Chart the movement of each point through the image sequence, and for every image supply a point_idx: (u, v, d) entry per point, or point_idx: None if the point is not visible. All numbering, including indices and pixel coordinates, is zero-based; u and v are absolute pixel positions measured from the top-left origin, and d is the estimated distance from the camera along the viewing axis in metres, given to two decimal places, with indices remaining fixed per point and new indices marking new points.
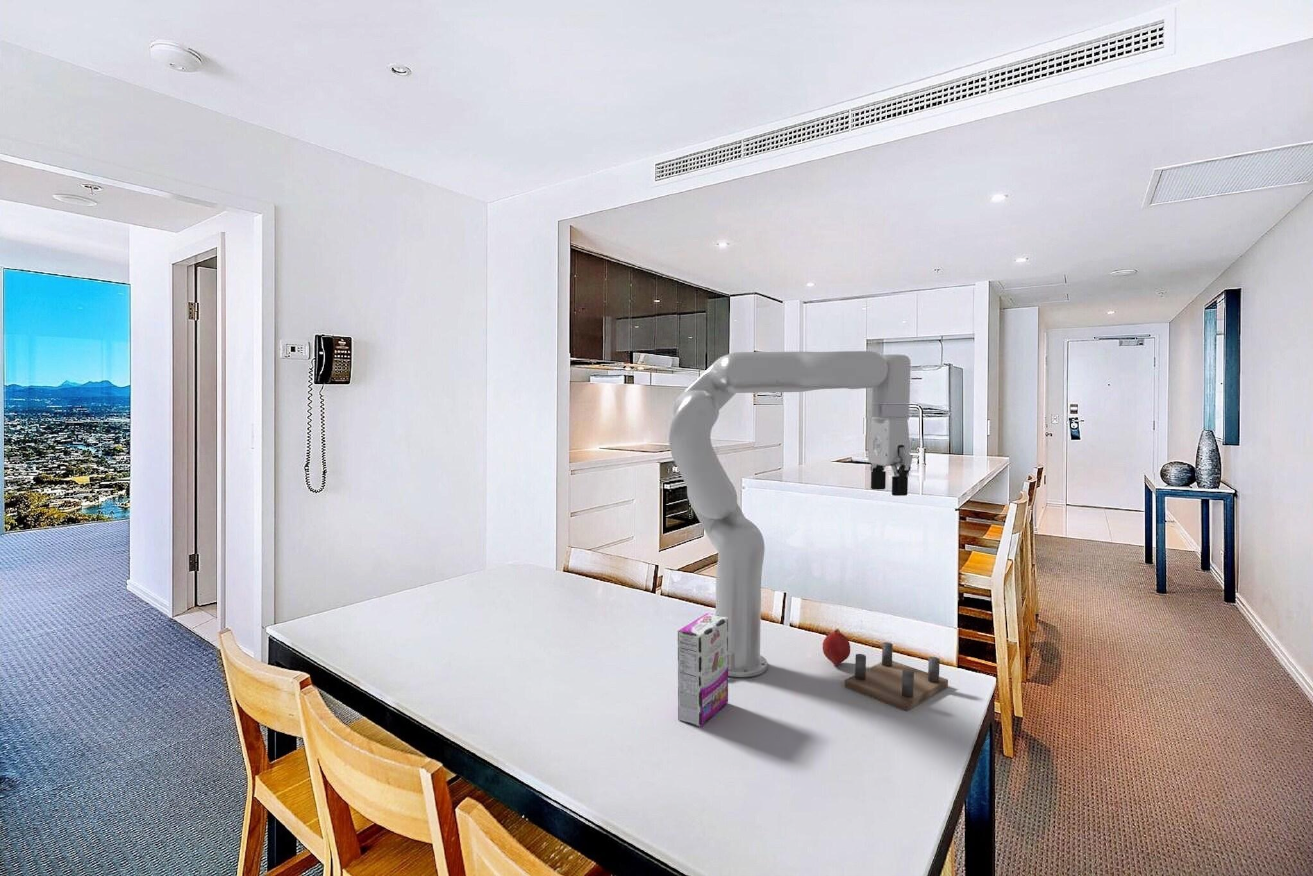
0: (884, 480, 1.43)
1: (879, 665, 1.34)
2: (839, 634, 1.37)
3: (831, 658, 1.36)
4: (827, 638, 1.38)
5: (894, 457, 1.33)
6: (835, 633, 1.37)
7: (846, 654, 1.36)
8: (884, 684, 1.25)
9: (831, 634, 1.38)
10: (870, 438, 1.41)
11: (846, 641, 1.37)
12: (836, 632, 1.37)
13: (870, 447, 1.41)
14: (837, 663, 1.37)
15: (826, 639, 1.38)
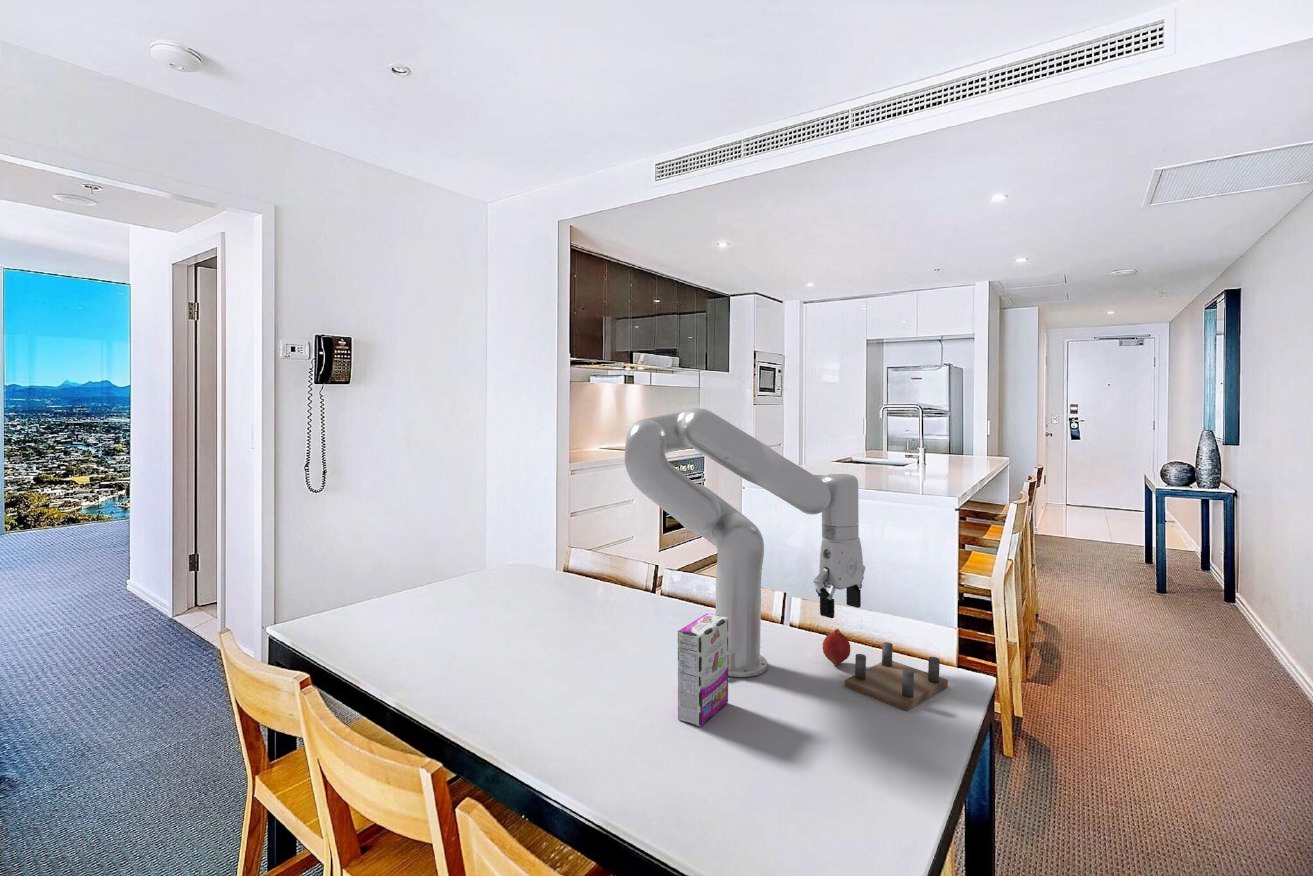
0: None
1: (879, 665, 1.34)
2: (839, 634, 1.37)
3: (831, 658, 1.36)
4: (827, 638, 1.38)
5: None
6: (835, 633, 1.37)
7: (846, 654, 1.36)
8: (884, 684, 1.25)
9: (831, 634, 1.38)
10: (841, 564, 1.33)
11: (846, 641, 1.37)
12: (836, 632, 1.37)
13: (841, 573, 1.33)
14: (837, 663, 1.37)
15: (826, 639, 1.38)
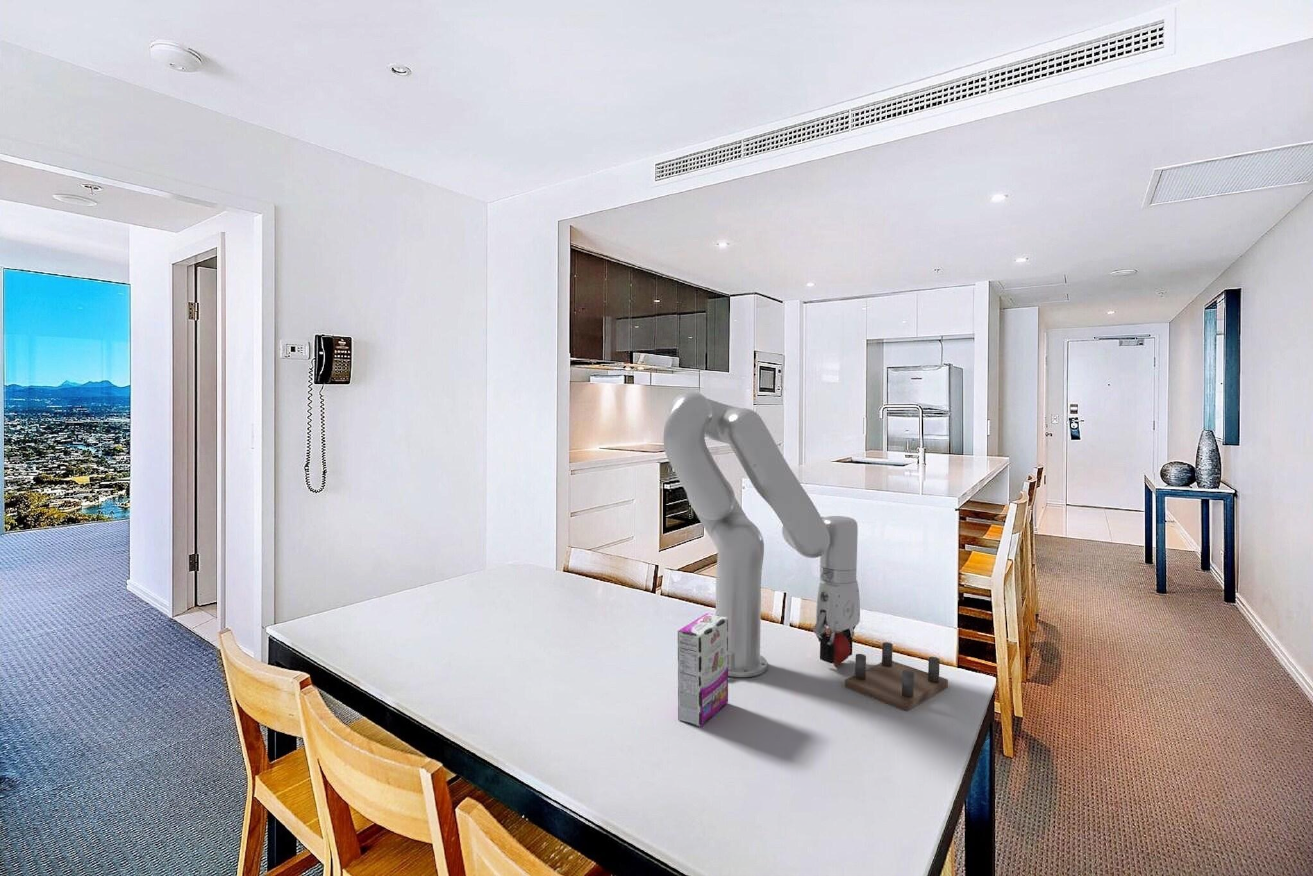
0: None
1: (879, 665, 1.34)
2: (839, 634, 1.37)
3: None
4: None
5: None
6: (835, 633, 1.37)
7: (846, 654, 1.36)
8: (884, 684, 1.25)
9: None
10: (838, 607, 1.33)
11: (846, 641, 1.37)
12: None
13: (838, 616, 1.33)
14: (837, 663, 1.37)
15: None
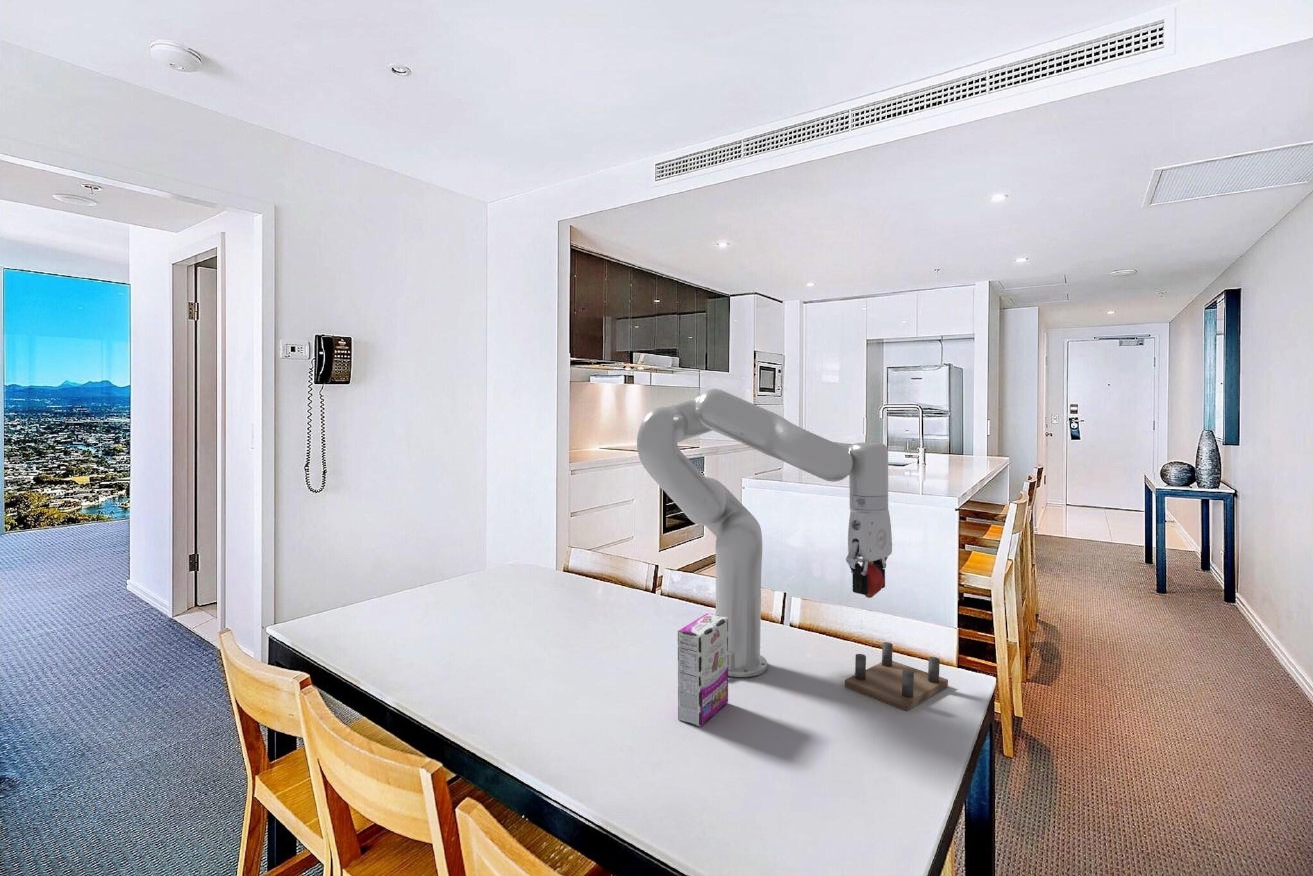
0: None
1: (879, 665, 1.34)
2: (872, 565, 1.31)
3: None
4: None
5: None
6: None
7: (880, 585, 1.30)
8: (884, 684, 1.25)
9: None
10: (871, 535, 1.27)
11: (879, 572, 1.31)
12: (868, 563, 1.31)
13: (871, 544, 1.27)
14: (870, 595, 1.31)
15: None
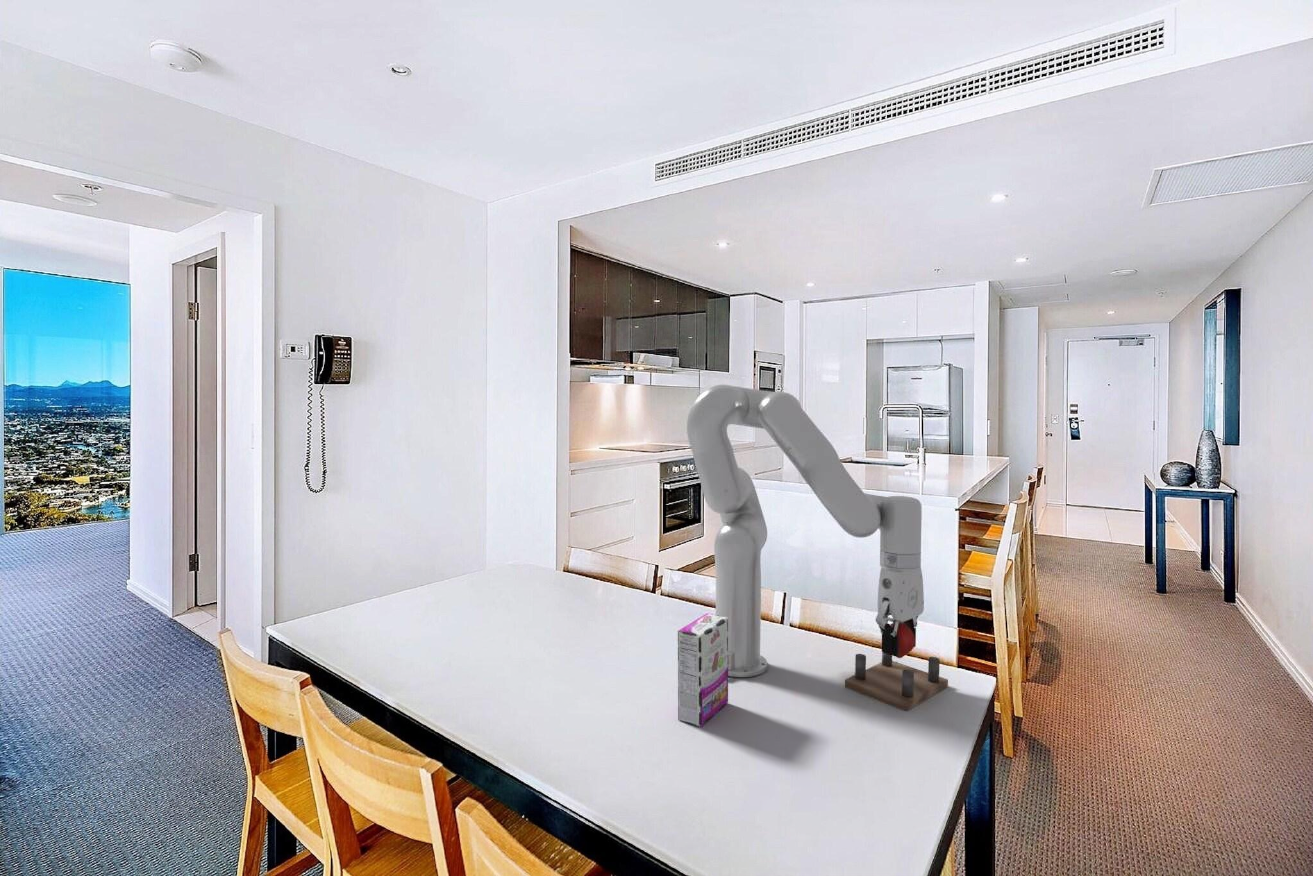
0: None
1: (879, 665, 1.34)
2: (902, 624, 1.26)
3: None
4: None
5: None
6: None
7: (911, 646, 1.25)
8: (884, 684, 1.25)
9: None
10: (902, 594, 1.22)
11: (910, 632, 1.26)
12: None
13: (902, 604, 1.22)
14: (901, 656, 1.26)
15: None
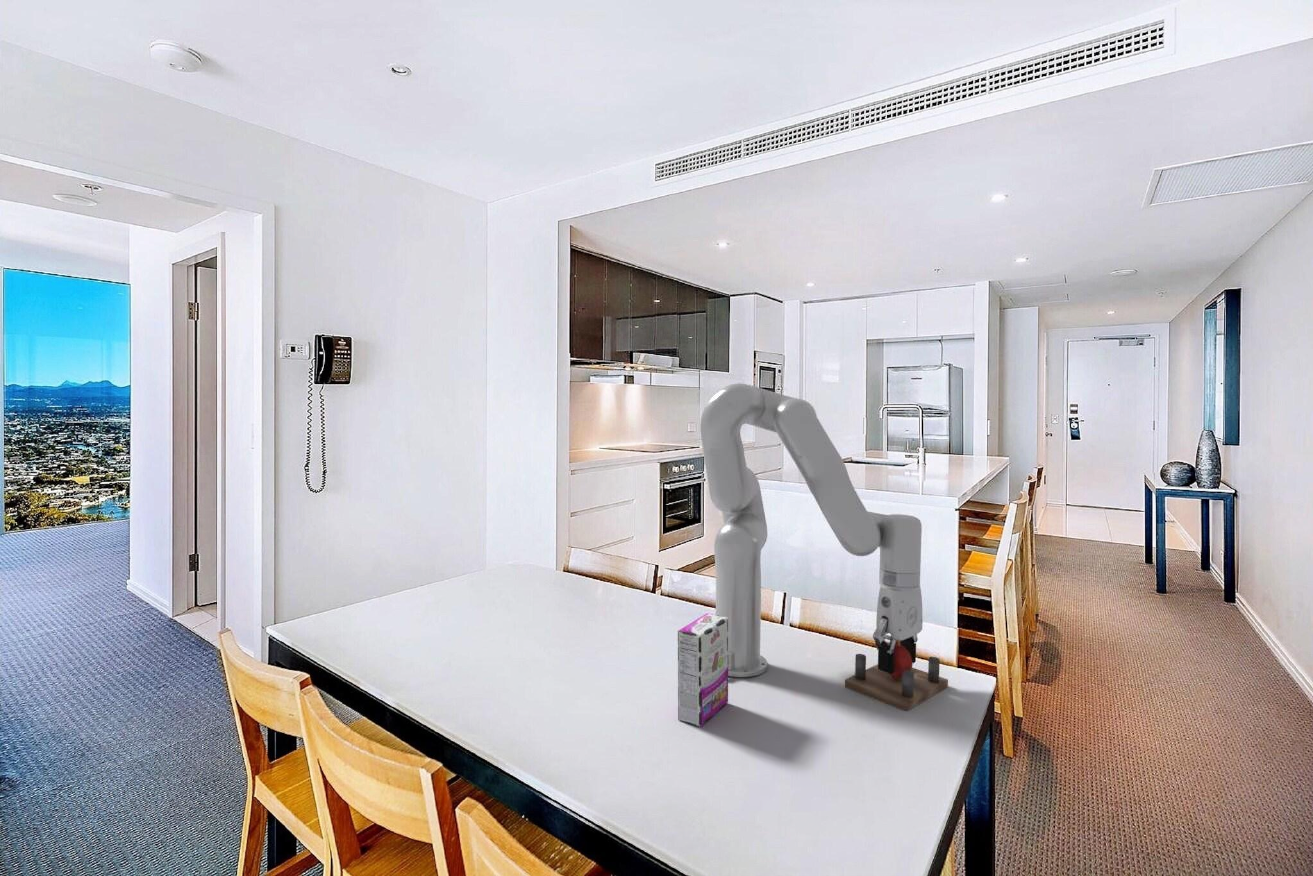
0: None
1: None
2: (900, 646, 1.26)
3: None
4: None
5: None
6: (895, 645, 1.27)
7: (908, 668, 1.25)
8: (884, 684, 1.25)
9: None
10: (901, 613, 1.22)
11: (908, 654, 1.26)
12: (897, 644, 1.27)
13: (901, 623, 1.22)
14: (898, 677, 1.26)
15: None
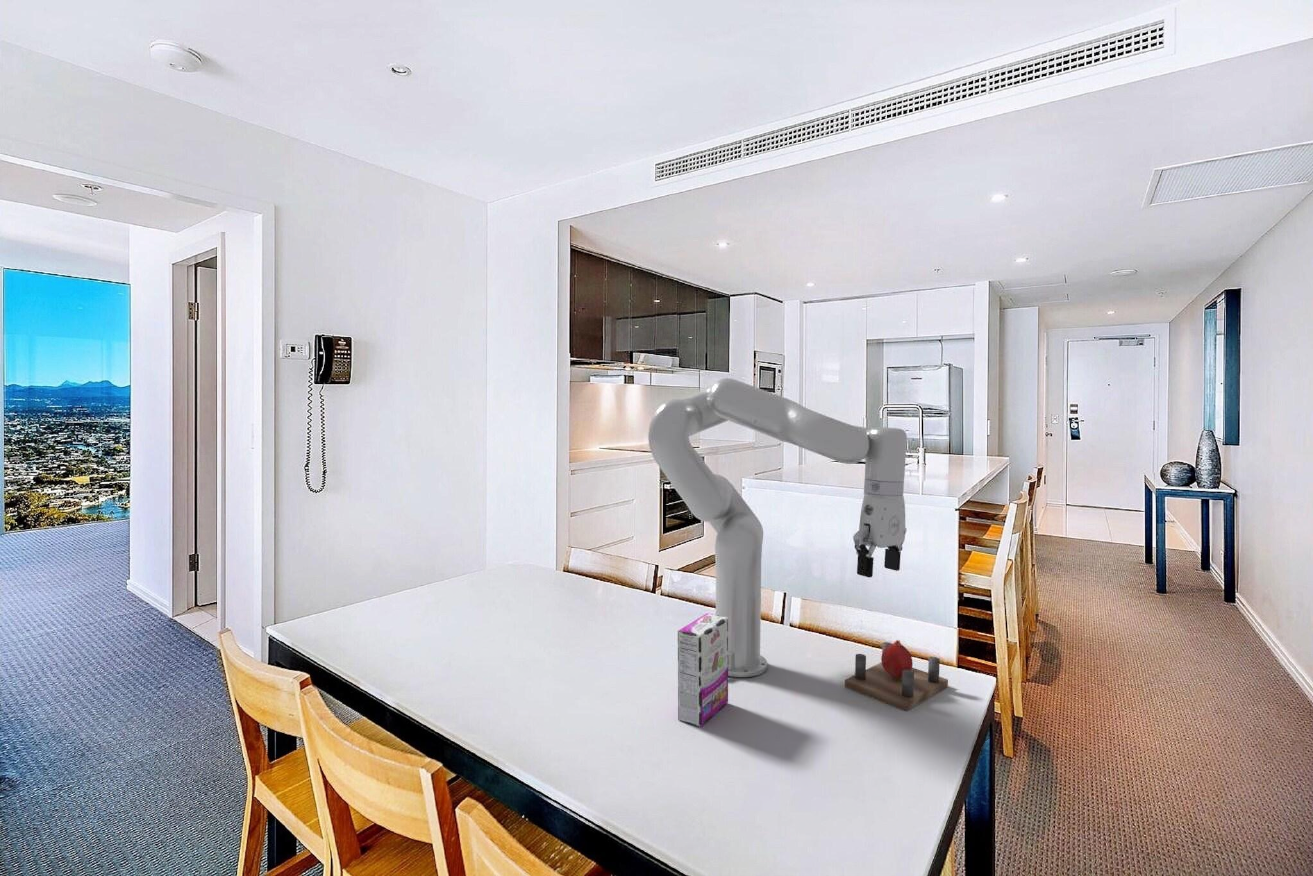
0: None
1: (879, 665, 1.34)
2: (900, 646, 1.27)
3: (892, 672, 1.26)
4: (887, 650, 1.27)
5: None
6: (896, 645, 1.27)
7: (908, 668, 1.25)
8: (884, 684, 1.25)
9: (891, 646, 1.27)
10: (883, 520, 1.25)
11: (908, 654, 1.26)
12: (897, 644, 1.27)
13: (883, 530, 1.25)
14: (898, 677, 1.26)
15: (886, 651, 1.27)
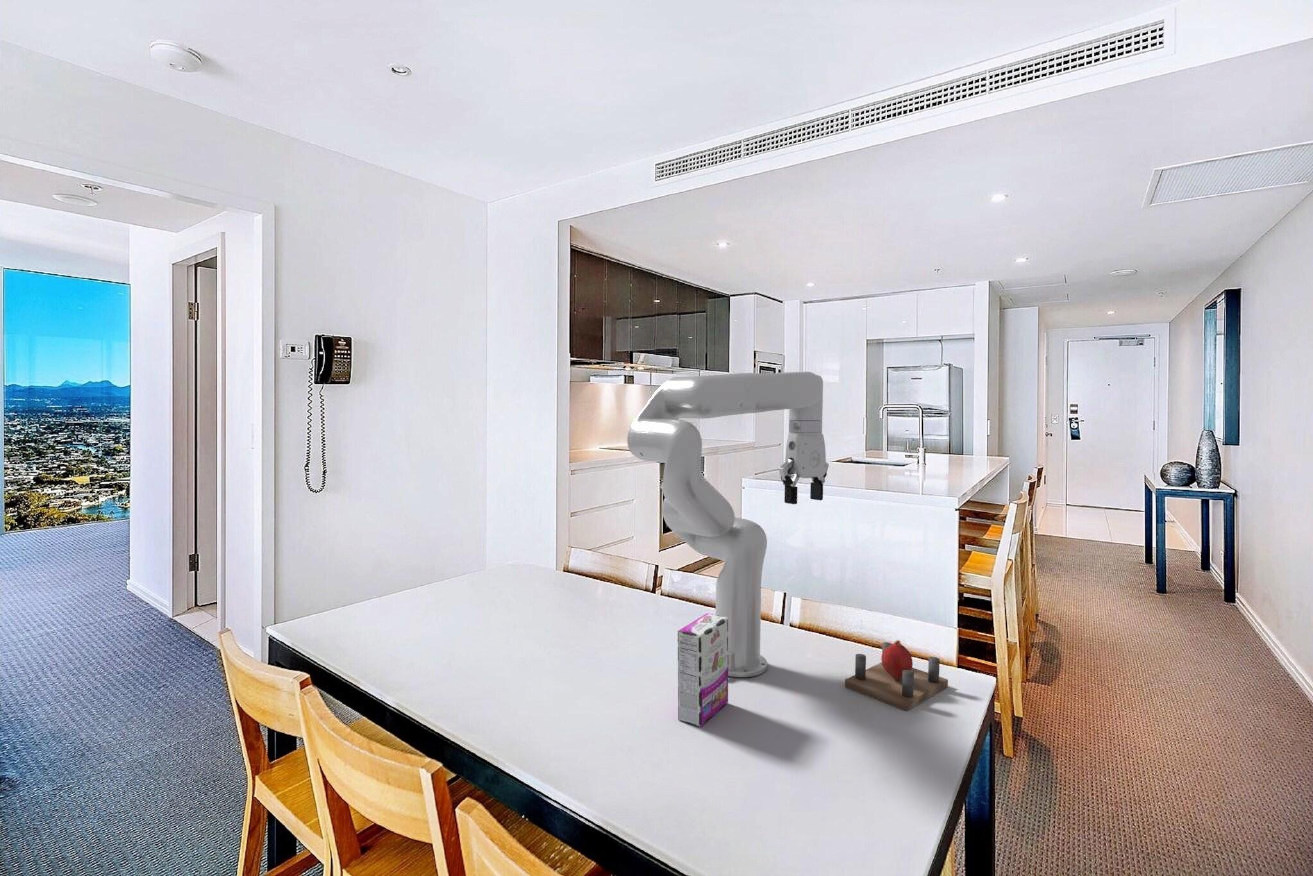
0: None
1: (879, 665, 1.34)
2: (900, 646, 1.27)
3: (892, 672, 1.26)
4: (887, 650, 1.27)
5: None
6: (896, 645, 1.27)
7: (908, 668, 1.25)
8: (884, 684, 1.25)
9: (891, 646, 1.27)
10: (804, 454, 1.45)
11: (908, 654, 1.26)
12: (897, 644, 1.27)
13: (804, 462, 1.45)
14: (898, 677, 1.26)
15: (886, 651, 1.27)
